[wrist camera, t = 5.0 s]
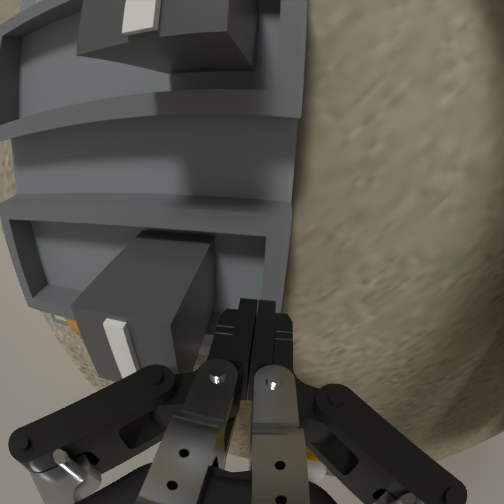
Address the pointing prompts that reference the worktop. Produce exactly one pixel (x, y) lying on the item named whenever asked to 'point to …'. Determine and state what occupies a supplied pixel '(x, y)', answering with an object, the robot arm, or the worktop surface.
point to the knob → (171, 34)
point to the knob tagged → (149, 305)
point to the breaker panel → (147, 157)
